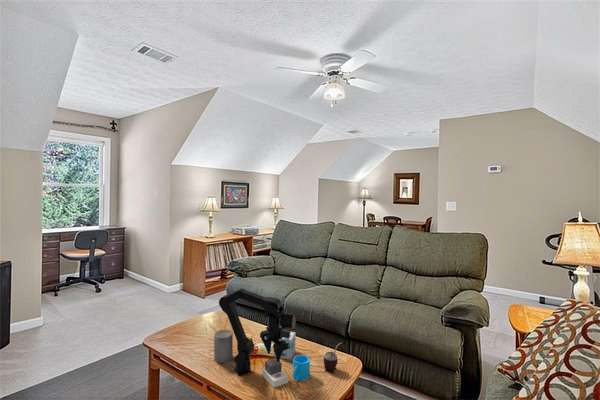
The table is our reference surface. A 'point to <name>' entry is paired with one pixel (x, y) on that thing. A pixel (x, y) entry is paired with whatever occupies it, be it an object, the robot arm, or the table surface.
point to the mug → (301, 367)
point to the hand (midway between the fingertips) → (273, 357)
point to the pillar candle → (223, 346)
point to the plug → (273, 366)
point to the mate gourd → (330, 360)
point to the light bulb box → (289, 346)
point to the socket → (275, 378)
